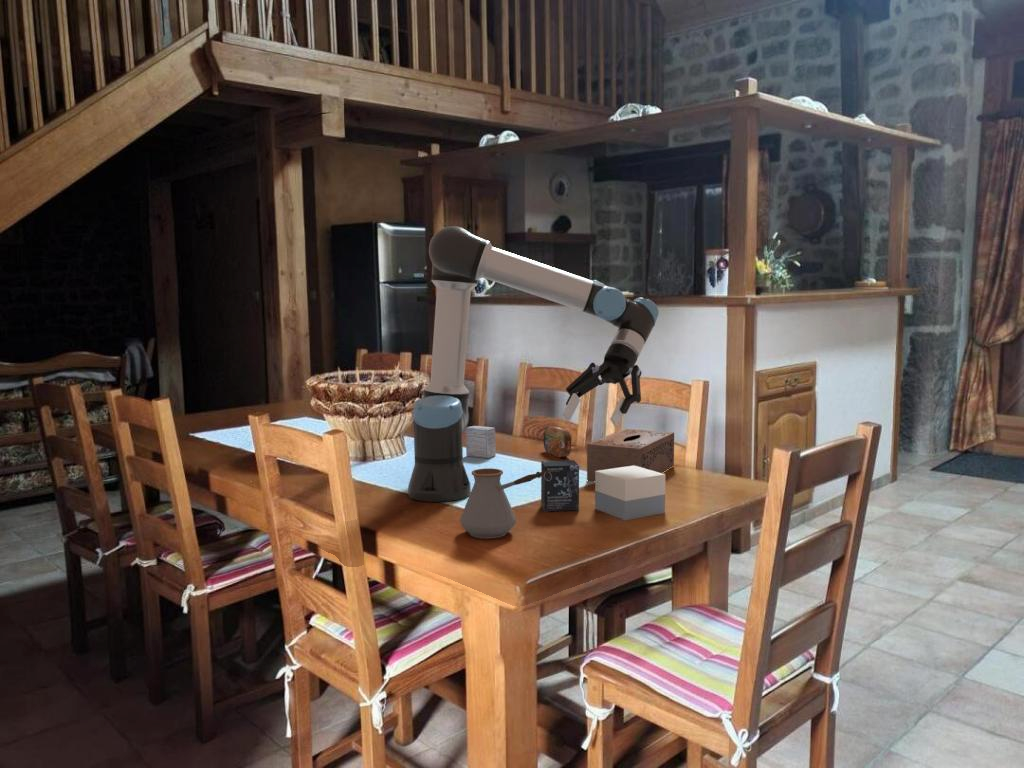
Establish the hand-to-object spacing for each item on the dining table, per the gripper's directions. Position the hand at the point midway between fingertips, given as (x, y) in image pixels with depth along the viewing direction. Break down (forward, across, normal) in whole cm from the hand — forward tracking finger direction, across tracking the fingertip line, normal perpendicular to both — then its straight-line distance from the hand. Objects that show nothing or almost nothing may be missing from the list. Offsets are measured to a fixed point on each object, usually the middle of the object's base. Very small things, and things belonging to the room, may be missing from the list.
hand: (589, 420), depth 196 cm
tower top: (+13, -13, -8) cm, 20 cm away
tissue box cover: (-6, +6, -33) cm, 34 cm away
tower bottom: (+16, -13, -11) cm, 24 cm away
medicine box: (-2, +54, -28) cm, 61 cm away
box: (+22, 0, -5) cm, 22 cm away
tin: (-12, +37, -39) cm, 55 cm away
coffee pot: (+38, -5, +12) cm, 41 cm away
